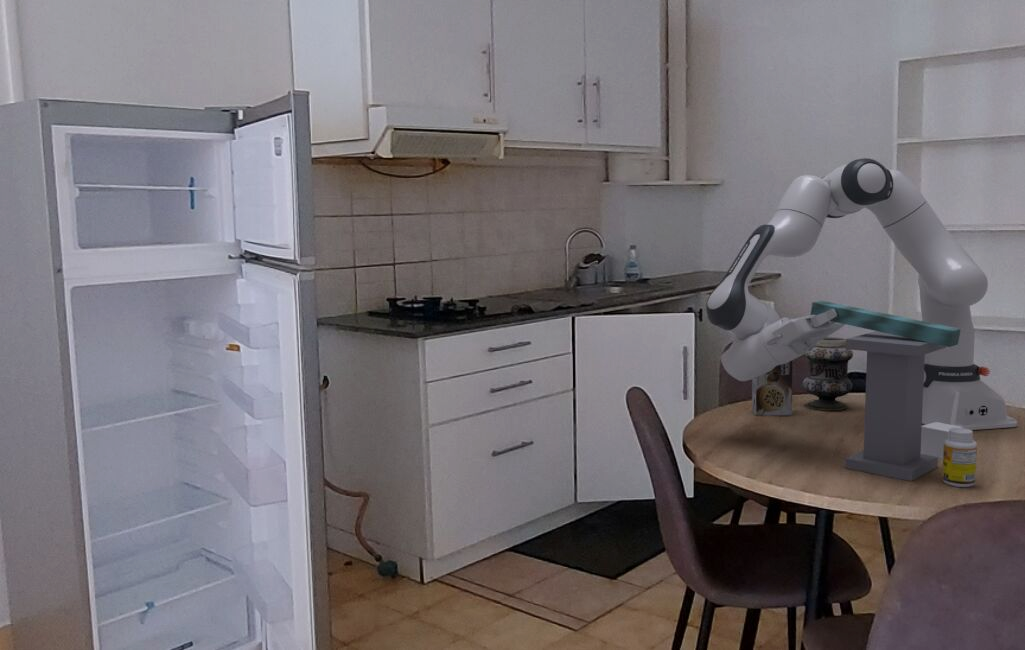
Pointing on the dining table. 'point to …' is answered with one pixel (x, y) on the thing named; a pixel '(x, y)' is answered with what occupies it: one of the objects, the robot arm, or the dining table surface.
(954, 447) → the supplement bottle
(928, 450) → the grey cube piece
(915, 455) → the pedestal
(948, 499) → the dining table surface
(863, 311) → the teal block
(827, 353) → the apothecary jar
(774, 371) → the coffee box
